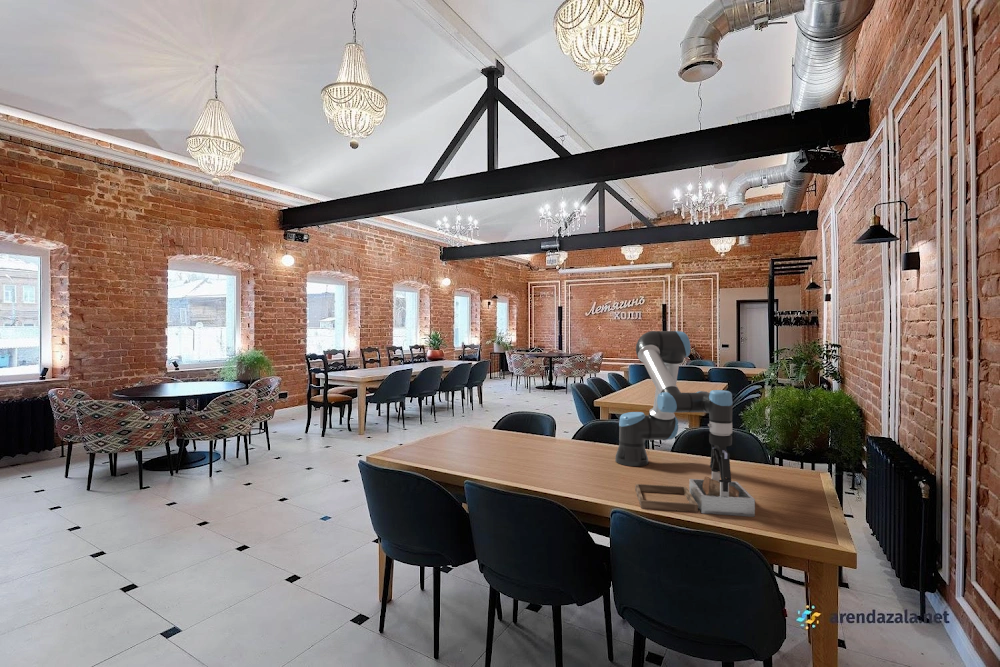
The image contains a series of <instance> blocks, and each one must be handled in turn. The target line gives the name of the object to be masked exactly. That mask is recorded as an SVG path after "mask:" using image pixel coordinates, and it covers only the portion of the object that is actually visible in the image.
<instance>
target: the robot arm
mask: <svg viewBox="0 0 1000 667" xmlns="http://www.w3.org/2000/svg"><path fill="white" fill-rule="evenodd" d="M691 347H692V346H691V341H690V338H689V336H688V334H686V333H685V331H680V330H679V331H678V330H650V331H647V332H644V333H643V334H642V335H640V337H639V338H638V340H637V342H636V344H635V353H636V356H637V359H638V360H639V361H640V362H642V364H643V365H644V367H645V369H646V371H647V373H648V375H649V377H650V379H651V381H652V383H653V385H654V387H655V392H654V400H653V406H652V408H650V409H649V411H648V412H649V413H648V415H645V413H644V412H643V411H630V412H625V413H622V414H621V415H620V416H619V423H618V427H619V430H618V431H619V434H618V435H619V436H618V437H619V438H618V440H619V442H618V448H617V451H616V453H615V456H614V457H615V463H617V464H620V465H623V466H627V467H644V466H647V465H649V456H648V454H647V451H646V447H645V443H646V442H645V441H668V440H669V441H670V440H673V439H674V438H675V437H677V435H678V431H679V421H678V418H677V416H676V415H675V414H676V413H706V414H709V415H708V417H709V418H708V420H709V423H707V427H709V433H708V442H709V444H710V445H711V452H710V463H709V464H710V465H709V467H710V469H711V479H713V480H716V481H719V482H720V496H726V497H729V482H731V481H732V473H731V462H730V459H731V457H730V456H731V454H730V452H728V450H727V447H730V446H732V445H733V435H732V434H733V404H734V403H733V393H732V392H731V391H729V390H723V389H714V390H713V389H712V390H710V391H709V392H708V391H704V390H703V391H702V390H699V391H697V392H681V390H680V389H679V387H678V386H677V380H678V375H679V369H680V368H679V367H680V365H682V364H683V363H684V358H688V357H689V356H690V355H691V349H692V348H691Z"/></svg>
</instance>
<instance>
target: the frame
mask: <svg viewBox="0 0 1000 667" xmlns="http://www.w3.org/2000/svg"><path fill="white" fill-rule="evenodd" d="M642 492H644V493H647V492H648V493H665V494H676V493H680V494H679V495H681V494H682V495H684V497H685V496H686V497H685V498H686V500H687V501H689V502H676V501H675V502H674V501H661V500H648V499H647V500H646V499H644V497H643V495H642V494H643V493H642ZM635 493H636V497H637V500H638V502H639V506H640V508H641V509H647V510H649V509H650V510H664V511H665V510H666V511H676V510H677V511H678V512H693V513H698V512H699V509H698V504H697V503H696V501H695V500H694V498H693V497H692V495H691V494H690V492H689V489H688V487H687V486H680V485H678V486H677V485H665V484H664V485H662V484H661V485H660V484H644V483H643V484H642V483H635ZM677 511H676V512H677Z"/></svg>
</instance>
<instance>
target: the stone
mask: <svg viewBox="0 0 1000 667" xmlns="http://www.w3.org/2000/svg"><path fill="white" fill-rule="evenodd" d="M703 480H704V482H703V490H704V492H705V493H706V495H710V496H720V482H719V481H716V480H713V479H712V478H711V477H708V476H704V478H703ZM738 494H739V491H738V490H737V489H736V488H735V487H733V486H730V485H729V497H738V496H739V495H738Z"/></svg>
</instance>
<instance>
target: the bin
mask: <svg viewBox="0 0 1000 667" xmlns="http://www.w3.org/2000/svg"><path fill="white" fill-rule="evenodd" d="M688 480H689V483H688V484H689V487H688V488H689V489H688V490H689V492H690V494H691V495H692V497H693V498H694V500H695V501H696V503H697V504H698V511H699V512H700V513H701V514H707V515H720V516H734V517H749V518H755V517H756V499H755V497H753V496H752V495H751V494H750V493H749V492H748V490H746V489H745V488H744V487H743V486H742V485H741V484H740V482H738V481H736V480H735V481H734V480H731V482H729V485H730V486H733V487H735V488H736V489H737V490H738V491H739V494H738V495H739V496H738V497H726V496H710V495H706V493H705V492H704V490H703V482H704V479H702V478H700V479H698V478H689V479H688Z"/></svg>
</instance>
